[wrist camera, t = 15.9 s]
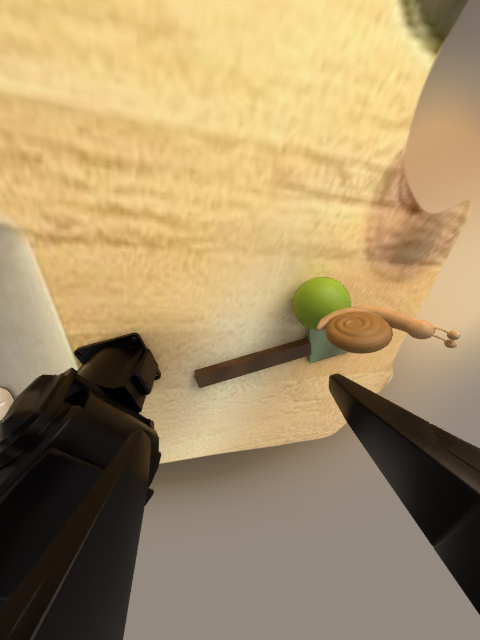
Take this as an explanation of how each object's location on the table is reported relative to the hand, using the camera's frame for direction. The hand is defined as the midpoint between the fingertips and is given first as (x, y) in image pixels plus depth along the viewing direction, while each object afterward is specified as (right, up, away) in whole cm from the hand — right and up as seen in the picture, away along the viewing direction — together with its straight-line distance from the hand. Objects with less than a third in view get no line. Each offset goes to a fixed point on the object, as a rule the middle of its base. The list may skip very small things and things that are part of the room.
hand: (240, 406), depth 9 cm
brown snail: (+8, +7, +13) cm, 17 cm away
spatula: (+5, 0, +16) cm, 17 cm away
